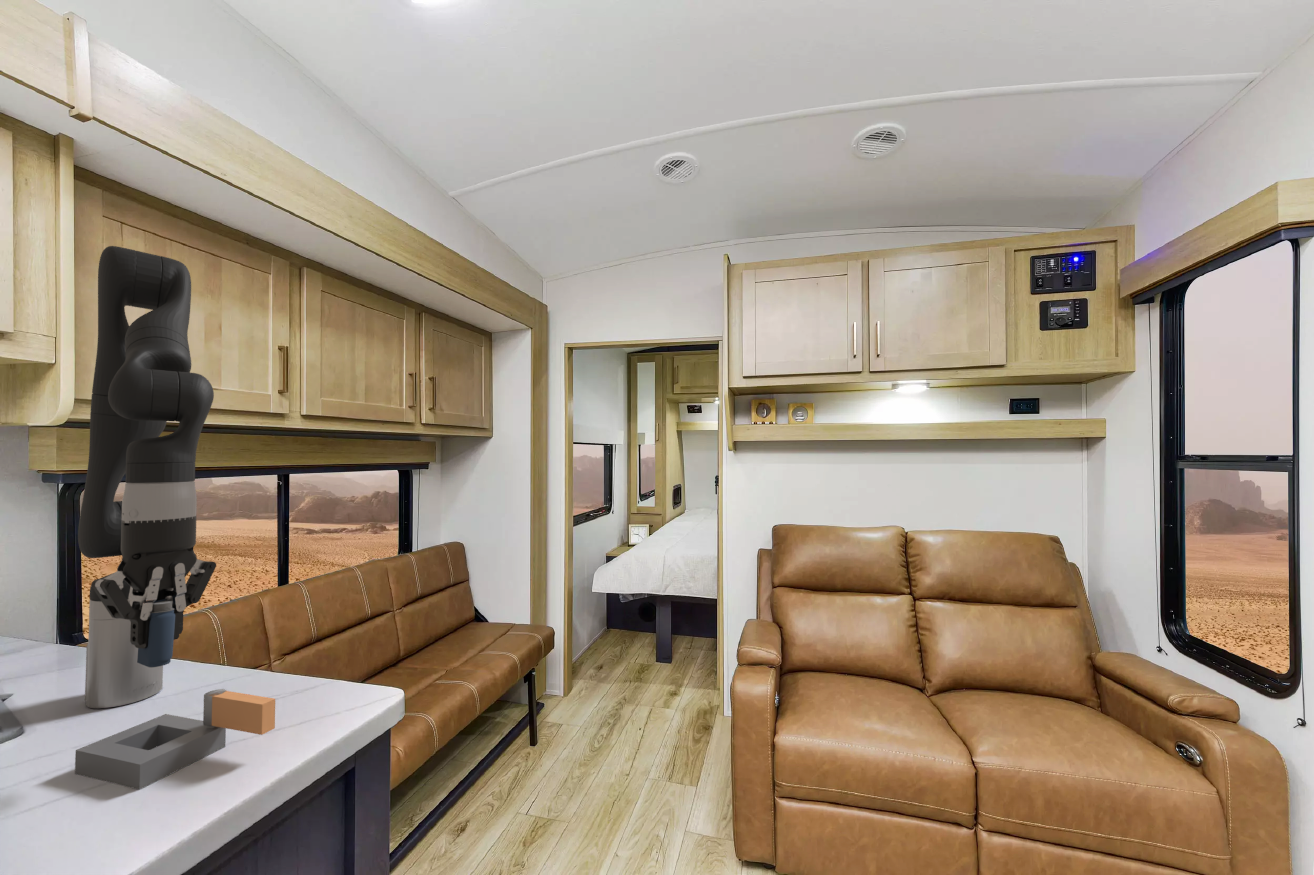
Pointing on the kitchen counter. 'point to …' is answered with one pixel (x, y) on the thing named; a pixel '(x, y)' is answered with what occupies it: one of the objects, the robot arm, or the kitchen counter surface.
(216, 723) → the orange bar
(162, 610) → the vaping device
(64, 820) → the kitchen counter surface
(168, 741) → the socket block
